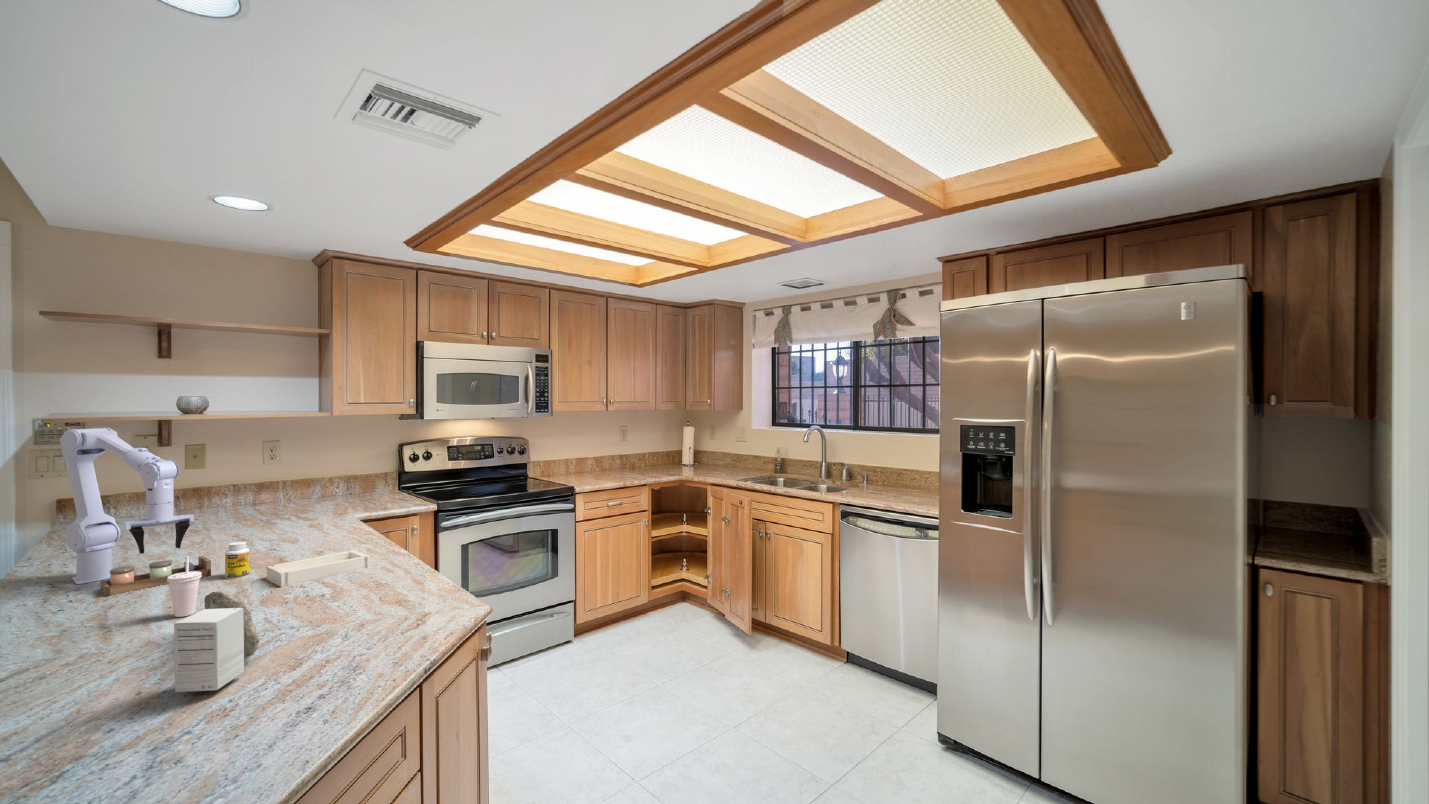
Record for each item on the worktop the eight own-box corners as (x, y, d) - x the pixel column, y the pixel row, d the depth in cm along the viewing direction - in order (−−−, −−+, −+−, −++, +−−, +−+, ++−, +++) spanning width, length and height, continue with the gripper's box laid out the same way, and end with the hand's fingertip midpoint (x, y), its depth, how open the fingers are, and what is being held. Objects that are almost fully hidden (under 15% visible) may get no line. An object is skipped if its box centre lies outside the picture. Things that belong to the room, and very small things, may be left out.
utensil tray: (266, 580, 172) (266, 566, 172) (353, 562, 191) (353, 550, 191) (281, 588, 165) (281, 573, 165) (370, 569, 183) (370, 556, 183)
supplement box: (204, 673, 113) (204, 608, 113) (245, 672, 114) (245, 606, 114) (172, 693, 106) (172, 622, 106) (216, 691, 106) (216, 621, 106)
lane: (100, 590, 163) (100, 572, 163) (202, 572, 180) (202, 555, 180) (106, 597, 158) (106, 578, 158) (210, 577, 175) (210, 560, 175)
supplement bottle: (223, 581, 171) (223, 546, 171) (226, 576, 175) (226, 542, 175) (248, 578, 174) (248, 543, 174) (250, 573, 179) (250, 540, 179)
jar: (149, 587, 166) (149, 566, 166) (148, 583, 169) (148, 562, 169) (172, 583, 169) (172, 562, 169) (171, 579, 172) (171, 559, 172)
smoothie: (208, 611, 147) (208, 555, 147) (177, 620, 141) (177, 561, 141) (191, 608, 149) (191, 552, 149) (160, 617, 143) (160, 559, 143)
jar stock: (108, 590, 163) (108, 569, 163) (132, 586, 167) (132, 565, 167) (111, 594, 160) (111, 572, 160) (136, 589, 164) (135, 568, 164)
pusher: (184, 575, 176) (183, 562, 176) (192, 574, 177) (192, 560, 177) (189, 579, 172) (189, 565, 172) (198, 577, 174) (198, 564, 174)
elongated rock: (193, 629, 136) (193, 586, 136) (223, 622, 140) (222, 580, 140) (240, 671, 114) (240, 620, 114) (273, 662, 119) (273, 612, 118)
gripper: (127, 508, 161) (127, 558, 161) (196, 501, 173) (196, 547, 173) (122, 505, 165) (122, 553, 165) (190, 498, 177) (190, 543, 177)
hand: (160, 550), depth 169 cm, fingers open, 7 cm apart
